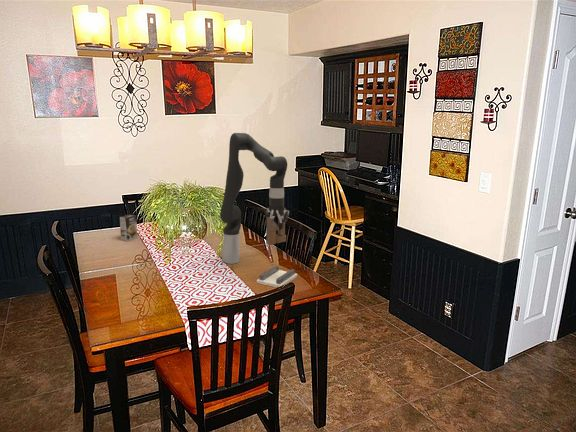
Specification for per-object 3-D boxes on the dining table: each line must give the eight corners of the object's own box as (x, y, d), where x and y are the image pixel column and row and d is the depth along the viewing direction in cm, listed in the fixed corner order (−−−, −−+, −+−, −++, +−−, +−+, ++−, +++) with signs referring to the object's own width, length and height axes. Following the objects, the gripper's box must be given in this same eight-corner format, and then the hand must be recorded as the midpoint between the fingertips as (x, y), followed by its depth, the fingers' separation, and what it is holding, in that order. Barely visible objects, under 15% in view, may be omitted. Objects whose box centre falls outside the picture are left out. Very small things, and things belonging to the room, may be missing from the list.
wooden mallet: (266, 243, 224) (266, 209, 220) (281, 239, 232) (282, 206, 227) (270, 245, 222) (271, 210, 218) (286, 241, 229) (287, 207, 225)
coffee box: (127, 241, 291) (126, 217, 287) (120, 240, 293) (119, 216, 289) (137, 238, 299) (136, 215, 295) (130, 236, 301) (129, 214, 297)
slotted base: (256, 282, 226) (256, 275, 226) (274, 271, 243) (274, 264, 242) (280, 288, 220) (280, 280, 219) (297, 276, 237) (297, 269, 236)
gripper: (292, 196, 222) (292, 229, 226) (267, 193, 227) (267, 225, 231) (286, 198, 215) (286, 232, 219) (260, 196, 221) (260, 229, 225)
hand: (276, 228), depth 225 cm, fingers closed on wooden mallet, 4 cm apart
